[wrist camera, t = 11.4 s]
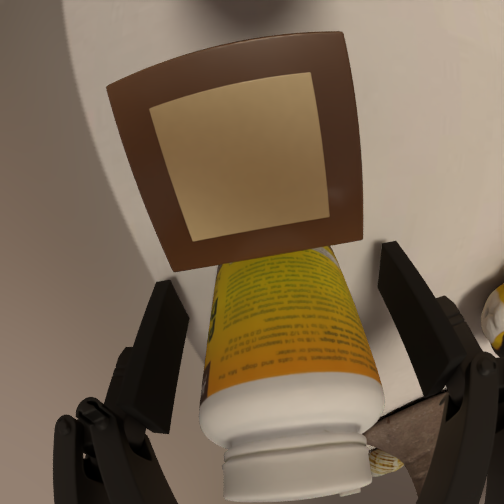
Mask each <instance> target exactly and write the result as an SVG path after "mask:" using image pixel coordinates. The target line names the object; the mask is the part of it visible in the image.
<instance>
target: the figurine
mask: <svg viewBox="0 0 504 504" xmlns="http://www.w3.org/2000/svg"><path fill="white" fill-rule="evenodd" d="M481 326H482V330H483V333H484V335H485V336H486V338H487V339H488V340H489V342H490V344H491V346H492V348H493V350H494V352H495V353H496V354H497V355H498V356H499V357H500V358H501V357H504V283H503V284H502V285H501V286H499V287H498V288H496V289H495V290H494V291H493V292H492V293H491V294H490V296H489V297H488V299H487V301H486V303H485V306H484V308H483V311H482V315H481Z"/></svg>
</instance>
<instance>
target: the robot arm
mask: <svg viewBox="0 0 504 504" xmlns="http://www.w3.org/2000/svg"><path fill="white" fill-rule="evenodd" d="M378 289H379V291H380V293H381V296H382V298H383V300H384V302H385V304H386V306H387V308H388V310H389V312H390V314H391V317H392V319H393V321H394V323H395V325H396V327H397V330H398V332H399V334H400V337H401V339H402V341H403V344H404V346H405V348H406V351H407V353H408V356H409V358H410V360H411V363H412V366H413V368H414V371H415V373H416V376H417V379H418V381H419V384H420V387H421V389H422V392H423V395H424V398H427V397H429V396H432V395H434V394H437V393H439V392H441V391H442V389H443V388H444V387H445V385H446V387H447V390H448V392H447V393H446V395H445V396H444V397H443V398H442V399H441V401H440V403H439V405H442V404H443V403H444V402H445V403H444V409H443V415H442V420H441V425H440V429H439V434H438V438H437V442H436V446H435V450H434V453H433V457H432V460H431V463H430V467H429V470H428V473H427V476H426V479H425V482H424V484H423V487H422V490H421V492H420V495H419V498H418V500H417V502H416V504H479V501H480V498H481V495H482V491H483V488H484V485H485V481H486V477H487V487H486V496H485V504H504V357H501V358H495V357H494V356H493V355H492V354H491V353H488V352H483V351H482V349H481V348H480V346H479V344H478V342H477V340H476V339H475V337H474V335H473V333H472V332H471V330H470V328H469V326H468V325H467V323H466V322H465V321H464V318H463V316H462V315H461V314H460V312H459V310H458V308H457V307H456V305H455V304H454V302H452V301H451V300H450V299H449V298H447V297H446V296H442V297H439V298H435V296H434V295H433V293H432V292H431V290H430V289H429V287H428V285H427V284H426V282H425V281H424V279H423V278H422V276H421V275H420V274H419V272H418V271H417V269H416V268H415V266H414V265H413V263H412V262H411V261H410V259H409V258H408V256H407V255H406V254H405V252H404V251H403V250H402V248H401V247H400V246H399V244H398V243H397V242H396V241H393V242H387V243H382V249H381V260H380V270H379V279H378ZM189 319H190V318H189V316H188V314H187V312H186V310H185V309H184V307H183V305H182V303H181V301H180V299H179V297H178V295H177V293H176V291H175V289H174V287H173V285H172V283H171V281H170V280H166V281H159V282H156V284H155V287H154V290H153V292H152V295H151V297H150V300H149V303H148V305H147V308H146V311H145V314H144V316H143V319H142V322H141V325H140V327H139V330H138V333H137V336H136V339H135V342H134V345H133V347H126V348H125V349H124V350H123V352H122V353H121V354H120V356H119V358H118V361H117V364H116V368H115V370H114V373H113V377H112V379H111V382H110V386H109V389H108V392H107V396H106V399H105V402H104V404H103V403H101V402H100V401H99V400H98V399H96V398H93V397H89V398H85V399H84V400H83V401H82V402H80V404H79V405H78V407H77V410H76V417H77V418H78V420H76V419H74V418H73V417H72V416H70V415H63V416H61V417H60V418H59V419H58V420H57V422H56V425H55V433H54V450H53V487H54V502H55V504H178V503H177V501H176V499H175V497H174V495H173V493H172V491H171V489H170V487H169V485H168V483H167V480H166V478H165V476H164V474H163V472H162V470H161V467H160V465H159V462H158V460H157V458H156V455H155V453H154V450H153V448H152V445H151V443H150V440H149V438H148V436H147V435H146V434H145V431H146V428H147V429H149V430H150V431H152V432H154V433H163V434H169V431H170V424H171V417H172V411H173V405H174V398H175V393H176V387H177V381H178V375H179V370H180V364H181V359H182V353H183V348H184V343H185V338H186V333H187V328H188V323H189ZM83 453H85V454H86V456H85V458H84V459H83Z"/></svg>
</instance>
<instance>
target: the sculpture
mask: <svg viewBox="0 0 504 504" xmlns="http://www.w3.org/2000/svg"><path fill="white" fill-rule="evenodd" d="M446 393H447V392H445V393H442V394H439V395H436V396H433V397H430V398H427V399H425V400H423V401H421V402H419V403H417V404H415V405H412V406H410V407H408V408H406V409H404V410H401V411H399V412H397V413H395V414H393V415H391V416H388V417H386V418H384V419H383V420H380V421H379V422H377V423H375V424H374V425H373V426H372V427H371V428H369V429H368V430H367V431H365V432H364V433H362V435H364V436H365V437H366V440H367V444H368V445H371V446H374V447H376V448H378V449H380V450H382V451H384V452H386V453H388V454H390V455H392V456H394V457H396V458H397V459H399V460H400V461H401V462H402V463H403V464H404V465H405V467H406V468H407V470H408V472H409V475H410V477H411V478H412V481H413V483H414V486H415V489H416V492H417V495H418V498H419V495H420V492H421V490H422V487H423V484H424V482H425V479H426V476H427V473H428V470H429V467H430V463H431V460H432V457H433V453H434V450H435V446H436V442H437V438H438V434H439V429H440V425H441V420H442V415H443V409H444V403H445V402H444V403H443V404H442V405H439V403H440V401H441V399H442V398H443V397H444V396H445V395H446Z"/></svg>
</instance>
